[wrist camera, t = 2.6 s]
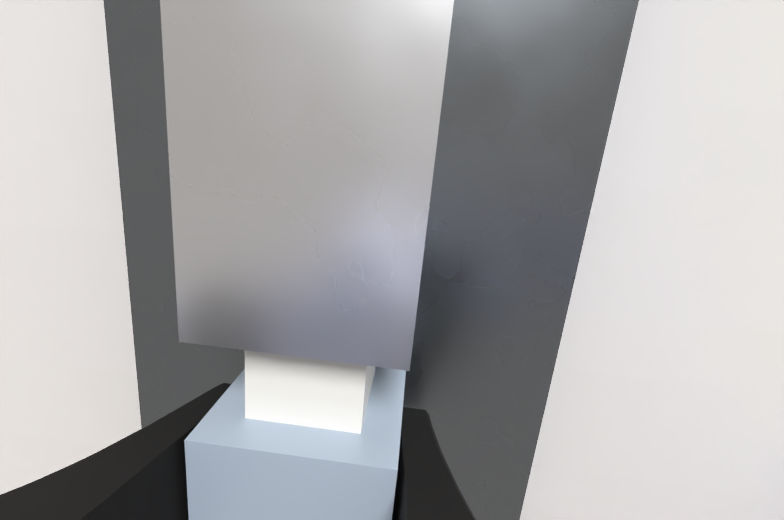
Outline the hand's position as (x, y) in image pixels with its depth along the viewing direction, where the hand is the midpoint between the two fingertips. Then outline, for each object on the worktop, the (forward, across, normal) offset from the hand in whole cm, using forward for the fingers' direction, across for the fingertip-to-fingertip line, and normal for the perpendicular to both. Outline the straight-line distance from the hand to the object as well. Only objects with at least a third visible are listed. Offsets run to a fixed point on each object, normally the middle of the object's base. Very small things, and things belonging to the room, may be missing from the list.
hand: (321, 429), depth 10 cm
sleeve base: (+2, 0, 0) cm, 2 cm away
